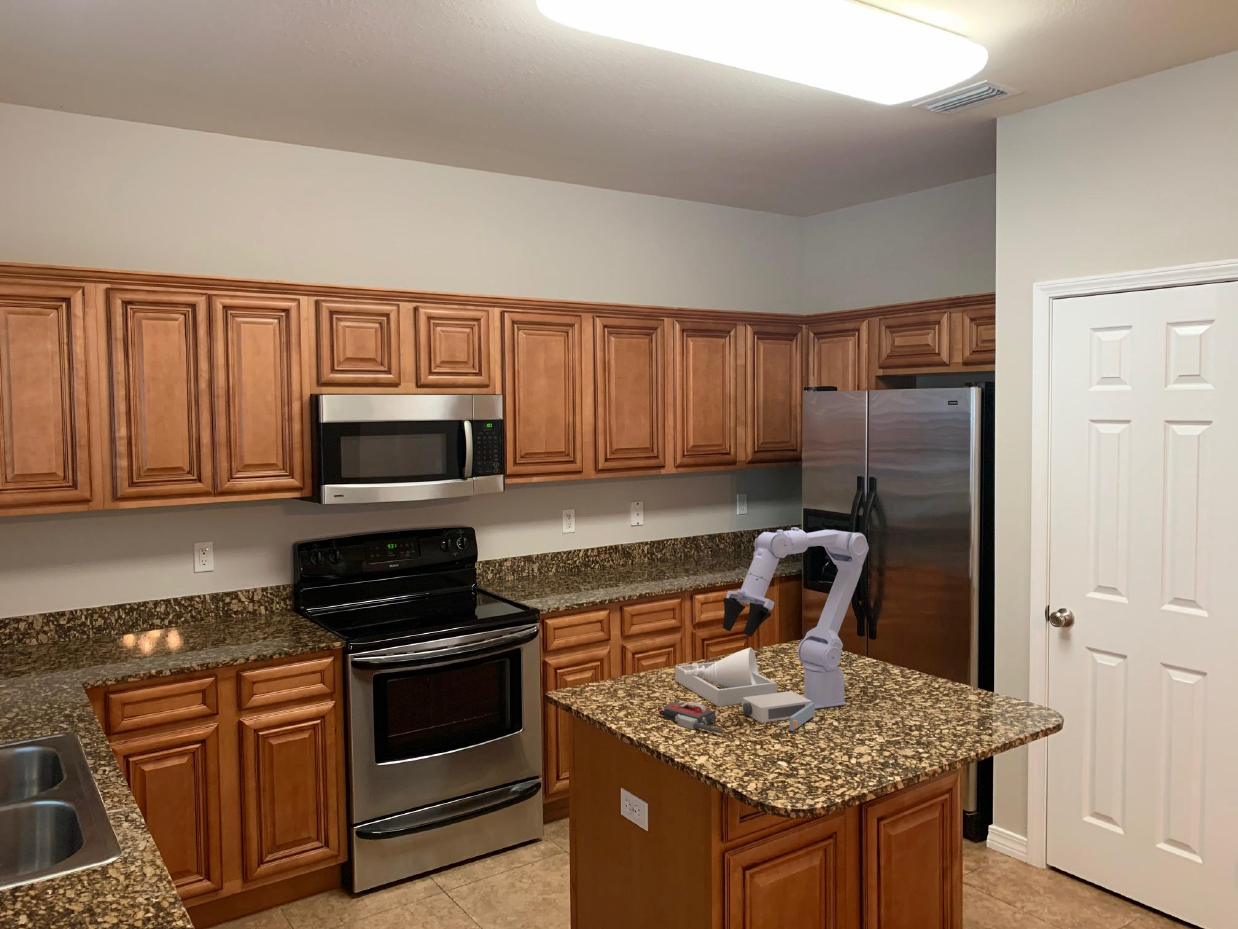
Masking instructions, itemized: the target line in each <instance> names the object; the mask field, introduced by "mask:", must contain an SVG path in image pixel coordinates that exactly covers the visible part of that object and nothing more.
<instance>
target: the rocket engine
mask: <svg viewBox="0 0 1238 929" xmlns="http://www.w3.org/2000/svg"><path fill="white" fill-rule="evenodd" d="M714 662H715V664H712V665H711V666H709V667H708V668H706V669H705V667H704V666H702V667H701V668H699V669H698V664H699V663H697V662H692V666H693V668H694V669H693V670H688V669H687V670H688V671H686V670H685V671H684V674H685V675H687V674H688V675H690V674H693V675H696V676H697V677H699V678H701V679H703V680H704V681H706V682H710V683H714V684H716V685H717V686H718V687H721V686H722V687H725V688H732V687H740V686H748V685H756V682H755V680H754V678H753V675H752V673H758V674H759V669H758V662H757V658H756V654H755V651H754V649H753V648H752V647H748V648H747V647H746V648H745V649H742V650H739V651H737V652H734V653H732V654H730V655H728V656H726V657H724V658H722V659H720V660H718V662H717V660H716V661H714ZM690 669H691V668H690Z"/></svg>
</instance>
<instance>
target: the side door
mask: <svg viewBox="0 0 1238 929" xmlns="http://www.w3.org/2000/svg"><path fill="white" fill-rule="evenodd" d="M815 712H816V711H815V703H812V702H811V703H810V704H808V705H807V706H806V707H804V708H803V709H801V710H800V711H798V712H797V713H795V714H794V715H792V716H791V717H789V719H788V721H789V724H788V725H789V726H788V727H789V731H791V732H794V731H795V730H796V729H798V728H799V727H800V726H802V725H803V724H804V723H807V721H809V720H811V719H812V718H813V717H815V715H816V714H815Z"/></svg>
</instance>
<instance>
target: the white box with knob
mask: <svg viewBox="0 0 1238 929" xmlns="http://www.w3.org/2000/svg"><path fill="white" fill-rule="evenodd" d="M811 702H812V701H811V700H809V699H807V698H805V697H804V695H803V696H802V695H801V694H799V693H796V692H795V691H792V690H789V691H783V692H777V693H773V694H765V695H758V696H750V697H743V698H742V703H741V711H742V713H743V714H744V716H749V717H751V719H753V720H756V721H757V722H759V723H763V724H764V723H768V722H776V721H782V720H789V717H791V716H792V715H794V714H795V713H797V712H798V711H800V710H801V709H803V708H804V707H806V706H807V705H808V704H810V703H811Z"/></svg>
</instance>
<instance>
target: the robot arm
mask: <svg viewBox="0 0 1238 929" xmlns="http://www.w3.org/2000/svg"><path fill="white" fill-rule="evenodd" d="M817 546H818V547H819V546H820V547H824V549H825V552H826V553H827V555H828V556H829V558H830V560H831V561H832V563H833V565H836V569H837V573H836V576H835V577H834V581H833V584H832V586H831V589H830V590H829V594H828V597H827V599H826V601H825V605H824V607H823V609H822V611H821V614H820V617H819V620H818V622H817V625H816V627H813V628H811V629H810V630H808V631H807V632H806V634H805V636H804V638H803V639H802V640H801V642H799V645H798V648H797V658H798V659H799V662H802V663H801V664H802V667H804V668H803V670H804V672H803V673H804V674H803V675H804V679H803V680H804V681H803V683H804V689H803V690H804V692H803V693H804V694H803V697H805V698H807V699H809V700H811V701H812V703H815V709H822V708H831V707H837V706H838V707H839V706H843V705H847V702H846V701H845V677H844V672H843V670H842V669H841V667H839V665H840V662H841V658H842V650H843V646H844V644H843V642H842V640H841V638H840V637H839V632H840V629H841V626H842V624H843V622H844V619H845V617H846V613H847V611H848V609H849V605H850V603H851V601H852V598H853V595H854V592H855V590H856V588H857V585H858V582H859V579H860V577H861V573H862V569H863V565H864V562H865V560H866V558H867V555H868V552H869V549H870V547H869V544H868V542H867V538H866V536H865V534H863V533H862V532H849V531H844V530H843V531H842V530H837V529H823V530H817V531H813V532H812V531H811V532H805V531H804V530H803V529H800V528H799V527H795V526H794V527H791V528H790V530H783V529H776V532H770V531H764V532H761V534H759V535H758V537H756V538H755V540H754V552H753V554H752V556H753V559H752V560H751V564H750V566H749V568H748V571H747V573H746V576H745V578H744V580H743V583H742V585H741V588H740V589H739V588H738V589H737V590H728V591H727V594H726V596H725V597H724V598H723V607H724V610H723V611H724V612H723V613H724V614H723V622H722V629H723V630H725V631H727V632H731V631H732V629H733V627H734V626H735V622H736V621H737V619H738V617H739V616H740V615H741V613H742V612H743V611H744V610H745V609H746V606H745V605H744V604H746V605H749V609H748V610H749V612H748V616H747V620H746V623H745V626H744V629H743V635H746V636H747V637H749V638H752V637H753V636H754V634H755V633H756V631H757V629H759V627H760V626H761V625H762V624H763V623H764V622H765V621H766V620H767V619H768V618H771V616H772V612H770V611H773V608H774V605H775V602H774V601H773V600H771V599H770V598H766V597H765V596H766V593H767V591H768V588H769V586H770V583H771V581H772V578H773V576H774V573H775V571H776V569H777V566H778V564H779V561H780V559H784V558H785V557H787V555H796V554H801V553H805V552H806V551H807V550H808V548H809V547H817ZM742 603H743V604H742ZM769 610H770V611H769Z"/></svg>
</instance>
